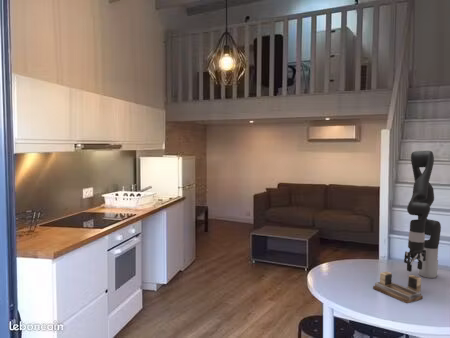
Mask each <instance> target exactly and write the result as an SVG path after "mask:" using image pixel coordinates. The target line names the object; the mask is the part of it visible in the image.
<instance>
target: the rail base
mask: <svg viewBox="0 0 450 338" xmlns="http://www.w3.org/2000/svg"><path fill="white" fill-rule="evenodd" d="M392 277H393V275H392V272H389V271H383V272H380V273H379V281H378V282H377V281H376V282H375V284H374V285H373V286H372V289H373V290H375V291H376V292H380V293H381V294H382V293H383V294H385V295H387V296H389V297H391V298H394V299H396V300H398V301H400V302H403V303H405V304H409V303H412V302H416V301H420V300H423V297H424V296H423V295H422V293H421V292H420V291H419V292H416V291H414V290H411V289H408V287H405V286H403V285H400V284H398V283H395V282H393V278H392Z"/></svg>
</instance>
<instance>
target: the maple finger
mask: <svg viewBox="0 0 450 338" xmlns="http://www.w3.org/2000/svg"><path fill="white" fill-rule="evenodd" d="M407 280H408V281H407V288H408V289H411V290H414V291H416V292H419V293H420V292H421V289H422V288H421V286H422V278H421V277H420V276H416V275H413V274H411V275H408V279H407Z"/></svg>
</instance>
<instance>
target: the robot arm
mask: <svg viewBox="0 0 450 338" xmlns="http://www.w3.org/2000/svg"><path fill="white" fill-rule="evenodd" d="M410 162H411V167H412V171H413V172H412V173H413V179H414V184H413V187H412V195H411V198H410V200H409V202H408V204H407V206H406V210H407V213H408V214H409V215H410V216H416V217H417V219H411V220H410V222H409V233H408V241H407V242H408V243H407V248H408V249H409V251H405V252H404V257H403V258H404V260H403V263H405V264H406V271H407V272H409V273H410V272H411V273H412V268H413V265H412V264H413V262H415V261H416V260H417V270H418V275H419V276H420V277H424V278H428V279H436V278H437V277H438V269H439V266H438V265H439V259H438V258H439V256H438V255H439V244H440V240H441V239H440V238H441V229H442V224H441V223H440V221H439V220H436V219H435V220H434V219H428V216H429V214H430V212H431V206H432V205H433V203H434V201H435V193H434V190H435V189H434V187H433V185H432V184H431V183H430V179H431V176H432V172H433V167H434V162H435V157H434V153H433V151H431V150H416V151H412V152H411V154H410ZM420 168H424V170H423V172H422V171H421V169H420ZM425 236H430V237H429V239H425V238H426V237H425Z"/></svg>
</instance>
